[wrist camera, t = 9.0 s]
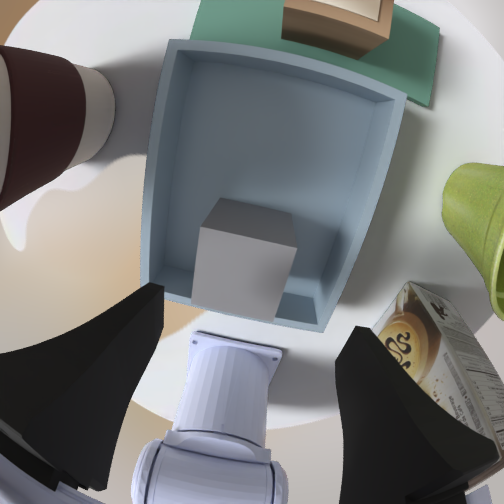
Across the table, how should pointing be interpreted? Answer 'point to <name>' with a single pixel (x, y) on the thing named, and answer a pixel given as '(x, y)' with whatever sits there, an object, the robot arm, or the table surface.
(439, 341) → the coffee box
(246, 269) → the plain block
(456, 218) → the plant pot
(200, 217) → the bin
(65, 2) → the table surface
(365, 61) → the mat
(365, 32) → the labelled block
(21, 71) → the coffee cup
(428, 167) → the table surface
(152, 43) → the table surface
